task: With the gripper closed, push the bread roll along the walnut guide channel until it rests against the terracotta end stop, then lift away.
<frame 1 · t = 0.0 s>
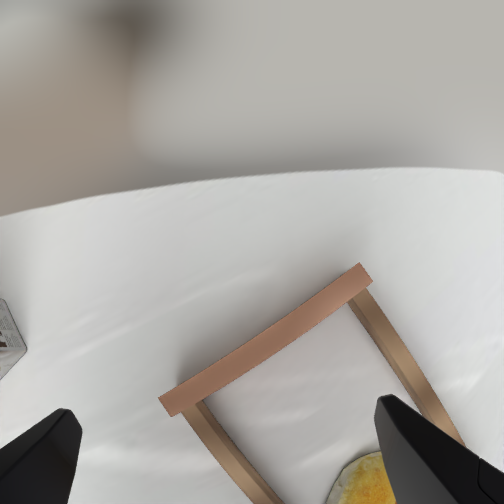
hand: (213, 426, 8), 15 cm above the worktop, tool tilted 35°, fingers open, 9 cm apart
guide channel: (346, 451, 20), on the worktop
bread roll: (377, 490, 19), on the worktop
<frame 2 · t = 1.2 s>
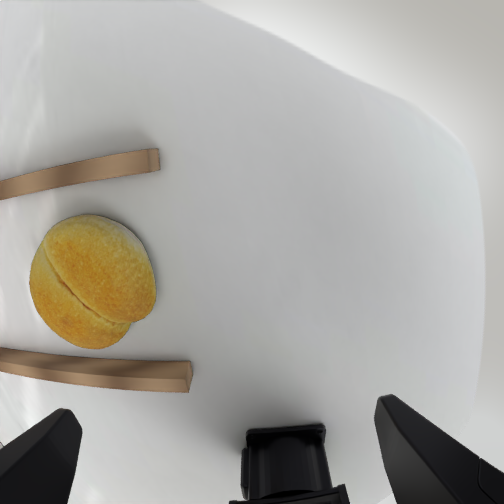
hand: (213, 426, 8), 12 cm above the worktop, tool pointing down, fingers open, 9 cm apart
guide channel: (35, 281, 20), on the worktop
bread roll: (97, 277, 20), on the worktop
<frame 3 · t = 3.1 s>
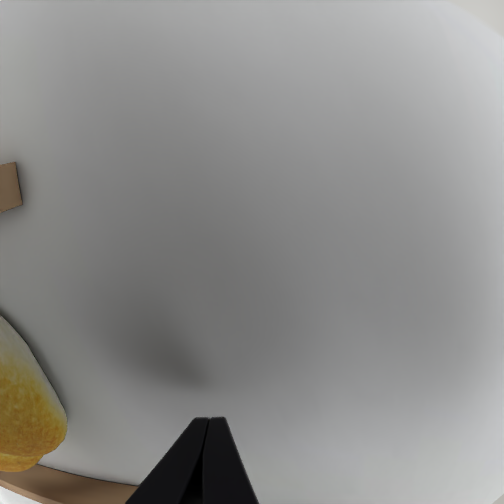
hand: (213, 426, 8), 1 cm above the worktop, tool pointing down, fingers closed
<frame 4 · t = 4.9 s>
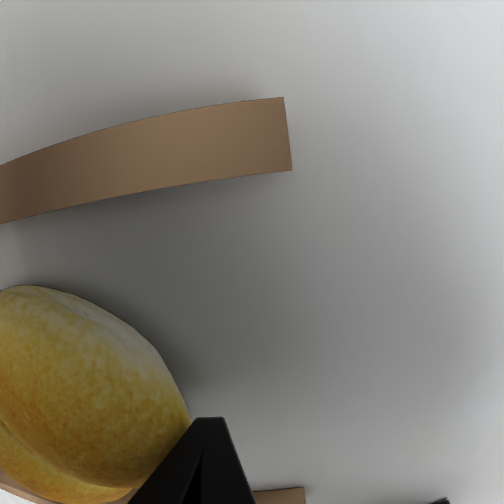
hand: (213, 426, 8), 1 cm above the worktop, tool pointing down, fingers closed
guide channel: (14, 387, 9), on the worktop
bread roll: (75, 387, 10), on the worktop, touching gripper
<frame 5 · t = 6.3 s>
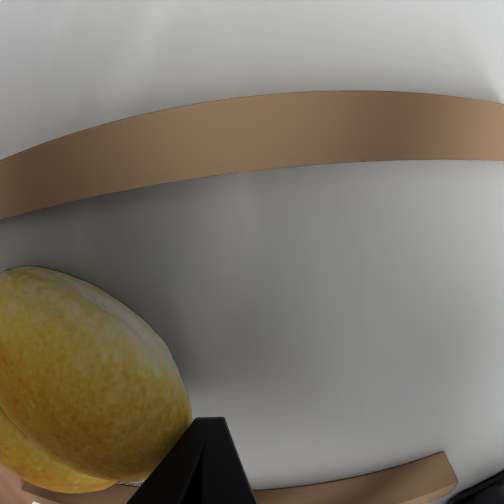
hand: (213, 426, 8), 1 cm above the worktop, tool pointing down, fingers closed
guide channel: (163, 396, 9), on the worktop
bread roll: (72, 373, 9), on the worktop, touching gripper
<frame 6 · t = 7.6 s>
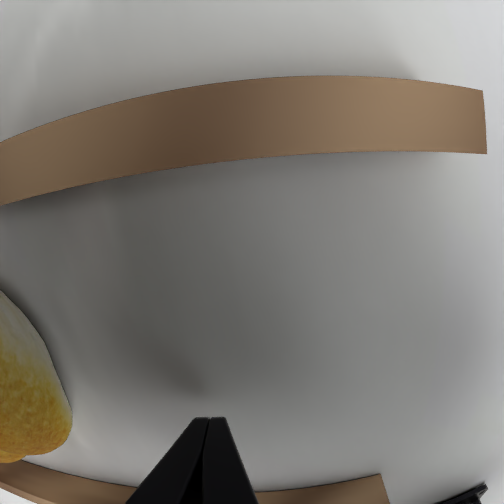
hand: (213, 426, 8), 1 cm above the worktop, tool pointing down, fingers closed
guide channel: (70, 390, 9), on the worktop
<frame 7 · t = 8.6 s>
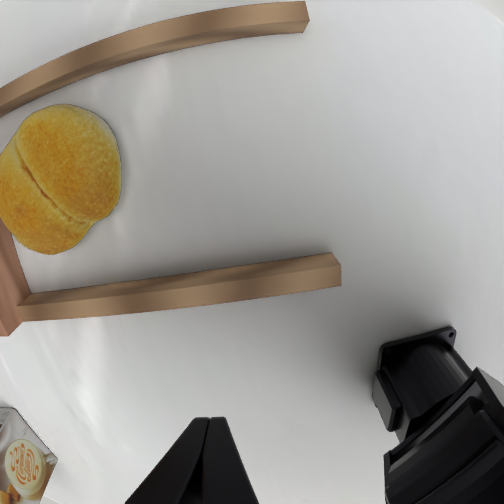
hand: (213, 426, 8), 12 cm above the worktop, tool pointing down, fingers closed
guide channel: (124, 174, 17), on the worktop
coffee box: (23, 433, 26), on the worktop
bread roll: (63, 177, 17), on the worktop
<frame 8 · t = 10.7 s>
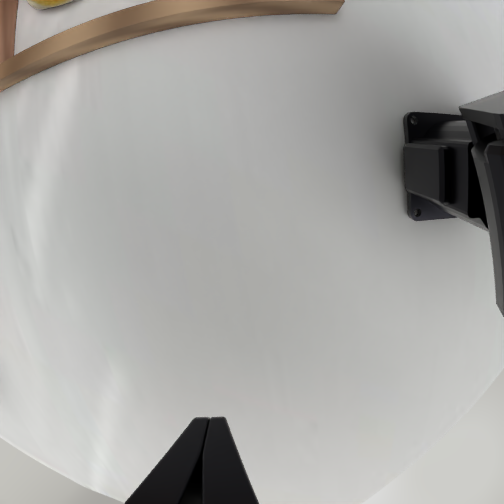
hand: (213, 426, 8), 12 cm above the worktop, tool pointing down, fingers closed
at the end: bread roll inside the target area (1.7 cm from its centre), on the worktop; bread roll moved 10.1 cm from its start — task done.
